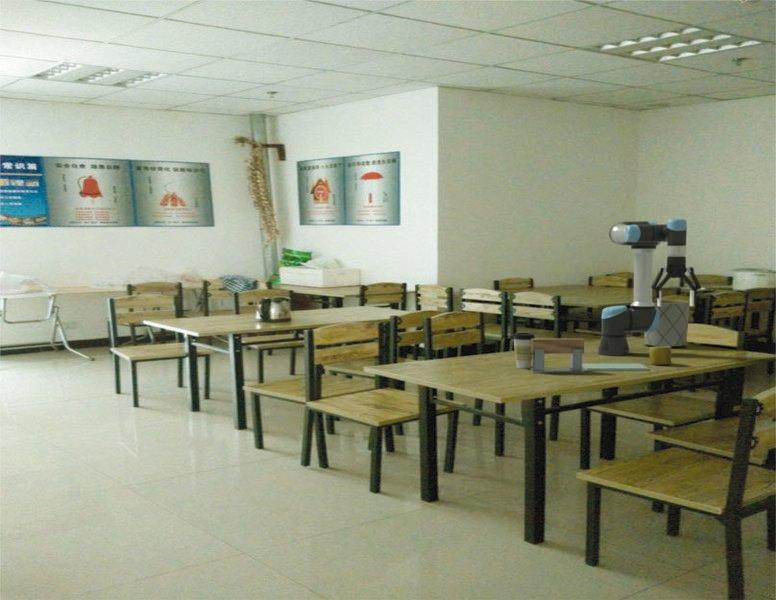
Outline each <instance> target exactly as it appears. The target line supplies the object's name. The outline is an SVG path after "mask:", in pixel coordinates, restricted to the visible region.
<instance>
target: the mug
mask: <svg viewBox="0 0 776 600" xmlns="http://www.w3.org/2000/svg"><path fill="white" fill-rule="evenodd" d="M648 354H649V359H650V364H651V365H653V366H666V365H669V366H670V365H672V346H671V347H668V346H660V347H657V346H650V347H649V348H648Z"/></svg>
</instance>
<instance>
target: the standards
mask: <svg viewBox="0 0 776 600" xmlns="http://www.w3.org/2000/svg"><path fill="white" fill-rule="evenodd" d="M582 364H583V354H582V349H573V354H569V367H545V354H544V349H535V354H533V357H532V367H531V368H529V370H530V371H531V373H532V374H578V373H579V374H585V373H586V371H585V369H584V368H583V367H582Z"/></svg>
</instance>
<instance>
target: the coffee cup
mask: <svg viewBox="0 0 776 600" xmlns="http://www.w3.org/2000/svg"><path fill="white" fill-rule="evenodd" d="M512 339H513V347H514V356H515V362H516V363H515V364H516V368H517V369H523V370H524V369H530V368H532V363H533V354H532V353H531V339H536V336H535V334H534V333H532V332H515V333H514V334H513V337H512Z"/></svg>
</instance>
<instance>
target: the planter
mask: <svg viewBox="0 0 776 600" xmlns="http://www.w3.org/2000/svg"><path fill="white" fill-rule="evenodd" d="M652 302H653V303H654V304H655V308H657V309H658V310H659V323H658V326H657V328H656V330H655V331H653V332H646V333H645V332H643V333H644V336H643V337H644V343H645V346H650V347H660V346H668V347H671V348H672V347H683V346H685V348H686V346H687V340H688V329H689V317H690V315H689V314H690V300H683V299H661V306H657V299H652Z"/></svg>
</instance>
